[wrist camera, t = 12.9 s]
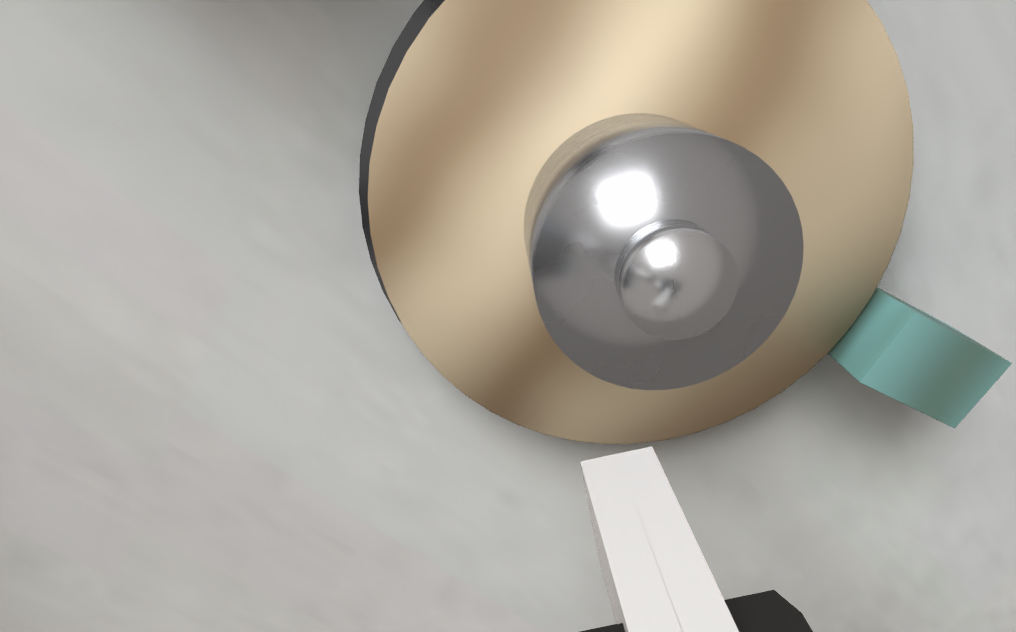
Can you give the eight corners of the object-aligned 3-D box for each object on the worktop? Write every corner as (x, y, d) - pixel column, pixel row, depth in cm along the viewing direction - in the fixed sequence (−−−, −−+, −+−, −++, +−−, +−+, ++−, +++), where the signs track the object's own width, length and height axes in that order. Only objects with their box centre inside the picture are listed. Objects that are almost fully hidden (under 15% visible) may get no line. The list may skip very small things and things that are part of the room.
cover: (666, 353, 20) (720, 449, 15) (487, 272, 18) (487, 349, 14) (781, 174, 18) (885, 221, 13) (589, 71, 16) (628, 82, 12)
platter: (303, 310, 20) (274, 353, 18) (520, -216, 15) (527, -274, 12) (785, 514, 24) (824, 575, 21) (1087, 145, 19) (1188, 162, 16)
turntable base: (440, 446, 24) (437, 471, 23) (295, -24, 18) (279, -29, 17) (870, 359, 23) (894, 379, 22) (873, -166, 17) (907, -184, 16)
